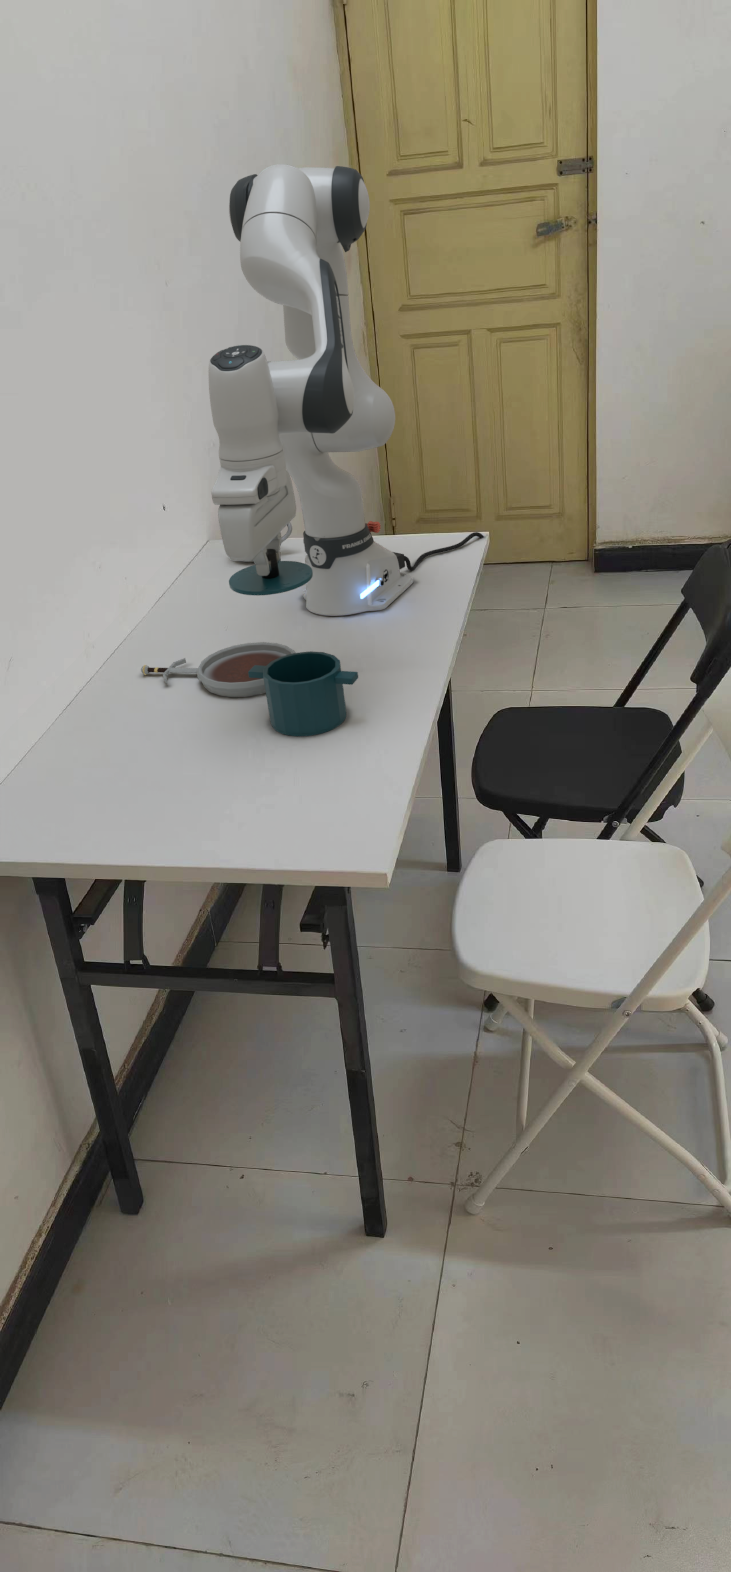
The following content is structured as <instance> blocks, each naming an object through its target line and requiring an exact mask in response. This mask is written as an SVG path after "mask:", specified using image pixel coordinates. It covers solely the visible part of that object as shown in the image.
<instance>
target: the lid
mask: <svg viewBox="0 0 731 1572" xmlns="http://www.w3.org/2000/svg"><path fill="white" fill-rule="evenodd" d="M266 556H267V559H268V560H270V561H271V568H272V571H271V572H270V573H269V574H268V575H267V576H259V575H258V574H257V571H256V565H255V564H252V565H249V566H246V567H244V568H242V569H239V570H237V571H235V572H234V573H233V574H232V575H231V576H230V578H229V580H228V585H229V589H231V590H232V591H233V592H235V593H237V594H240V595H245V596H270V595H277V594H283V593H287V592H290V591H293V590H296V589H298V588H301V587H302V586H304V585H306V583H308V582H309V581H310V580H311V579H312V577H313V571H312V568H311V567H310V566H309V565H307V564H305V562H301V561H300V562H299V561H296V560H295V561H294V560H281V561H280V562H279V563H278V561H277V555H276V550H274V549H267V552H266Z"/></svg>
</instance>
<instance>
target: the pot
mask: <svg viewBox="0 0 731 1572" xmlns="http://www.w3.org/2000/svg"><path fill="white" fill-rule="evenodd" d="M248 674H249V678H262V679H264V685H265V691H266V693H265V697H266V702H267V703H266V704H267V707H268V708H267V709H268V715H269V721H270V724H271V727H272V728H273V730H274V731H276V732H278V733H279V734H282V735H284V736H291V737H310V736H316V735H321V734H325V733H327V732H330V731H332V730H334V729H336V728H338V727H339V726H340V725H342V724H343V723H344V721H345V720H346V719H347V705H346V699H345V689H344V685H350V686H352V685H354V684H355V682H356V681H357V680H358V679H359V672H358V671H352V670H342V667H341V660H340V659H339V658H338V657H337V656H335V654H331V653H327V652H324V651H313V650H312V651H301V652H296V653H293V654H289V655H285V656H282V657H279V658H277V659H275V660H273V661H271V662H270V663H269V664H268V665H267V666H260V665H255V666H254V667H252V668H251V669H250V670H249V671H248Z"/></svg>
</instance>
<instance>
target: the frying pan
mask: <svg viewBox="0 0 731 1572" xmlns="http://www.w3.org/2000/svg"><path fill="white" fill-rule="evenodd" d="M293 653H297V652H296V651H295V650H294V649H293V648H291V647H290V646H288V645H285V644H282V643H278V642H267V641H259V642H246V643H240V644H235V645H231V646H227V647H225V648H222V649H219V650H217V651H215V652H213V653H211V654H209V655H207V657H205V658H204V659H203V660H201V661H200V663H199V665H198V667H179V666H181V665H184V664H186V663H187V659H186V657H183V658H181V659H179V660H176V661H174V662H172V663H171V664H170V665H169V666H168V667H150V666H148V665H147V664H144V665H142V667H141V668H140V672H141V674H143V675H145V676H147V675H149V674H150V673H156V674H159V673H161V674H162V678H163V680H164V683H165V684H168V678H167V677H168V676H169V675H170V674H196V675H197V679H198V680H199V681H200V682H201V683H202V685H203V687H204V689H206V690H207V691H208V692H209V693H211V694H214V695H217V696H220V697H228V698H242V697H243V698H245V697H253V696H258V695H263V694H266V691H265V685H264V679H262V678H249V674H248V671H249V670H250V669H251V668H252V667H254V666H255V665H260V666H267V665H268V664H269V663H270V662H271V661H273V660H275V659H277V658H279V657H282V656H285V655H289V654H293Z"/></svg>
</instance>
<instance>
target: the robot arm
mask: <svg viewBox="0 0 731 1572" xmlns="http://www.w3.org/2000/svg"><path fill="white" fill-rule="evenodd" d="M370 210H371V201H370V195H369V191H368V189H367V186H366V184H365V179H364V177H363V176H362V175H361V173H360V171H358V170H357V169H355V168H352V167H348V166H341V165H336V166H334V167H323V166H320V167H319V166H309V167H307V166H305V167H304V166H303V167H296V166H294V165H290V164H287V163H277V164H272V165H269V166H267V167H265V168H264V169H262V170H261V171H260V172H259V173H258V174H257V173H254V174H250V175H247V176H245V177H242V178H240V179H238V180H237V181H236V183H235V184H234V185H233V186H232V188H231V190H230V194H229V203H228V215H229V216H228V217H229V221H230V224H231V227H232V232H233V234H234V236H235V238H236V240H237V241H238V242H240V243H239V244H240V245H239V261H240V267H241V268H240V269H241V272H242V275H243V276H244V278H245V280H246V281H247V282H248V285H249V286H250V287H251V288H252V289H253V290H254V291H255V292H257V294H259V296H262V297H263V298H265V299H266V300H268V301H269V302H272V303H274V304H277V305H281V306H282V312H283V326H284V328H283V329H284V339H285V340H284V341H285V345H286V347H287V349H288V352H289V353H290V354H291V355H292V356H293V357H295V359H290V360H289V359H288V360H287V359H286V360H276V361H275V360H274V361H272V360H267V357H266V354H265V352H264V350H263V349H262V348H260V347H258V346H255V345H251V344H240V345H239V344H237V345H233V346H229V347H226V348H224V349H221V350H219V351H218V352H216V353H215V354H213V355H212V357H211V358H210V359H209V361H208V393H209V394H208V395H209V404H210V409H211V418H212V422H213V426H214V428H215V431H216V434H217V436H218V441H219V444H218V445H219V446H218V458H219V465H220V467H219V469H218V474H217V477H216V480H215V483H214V484H213V486H212V488H211V491H210V492H211V499H212V504H213V505H216V506H218V510H217V518H218V524H219V530H220V531H219V532H220V535H221V540H222V545H223V549H224V552H225V555H226V556H227V557H228V559H229V560H230V562H244V561H252V560H253V563H254V565H256V571H257V574H258V575H259V576H267V575H268V574H269V573H270V572H271V571H272V568H271V561H270V560H268V559H267V556H266V552H267V549H274V550H276V555H277V561H278V563H279V562H280V561H282V558H281V546H282V543H281V537H282V531H283V530H284V528H285V527H287V524H288V523H289V522H290V523H291V522H292V521H293V520H294V518H295V517H296V516H297V515H296V514H297V502H296V497H295V491H294V486H293V484H294V485H295V489H296V492H297V495H298V498H299V503H300V508H301V513H302V519H303V526H304V531H303V533H302V537H303V539H302V543H303V546H304V552H305V554H306V555H305V557H304V564H307V565H309V566H310V567H311V568H312V571H313V577H312V579H311V580H310V581H309V582H308V583H306V584H305V590H303V592H302V597H303V599H304V600H305V601H306V602H305V608H306V610H308V611H309V612H310V613H313V614H316V615H320V616H329V617H330V616H331V617H338V616H349V615H357V614H359V613H364V612H375V611H383V610H385V609H387V608H388V607H389V606H390V604H392V603H393V602H394V601H395V600H396V599H397V598H399V596H401V594H403V593H404V592H405V591H406V590H407V589H408V588H409V587H411V585H413V583H414V578H413V577H412V576H411V575H410V574H407V573H404V572H401V570H402V569H404V568H406V569H407V570H408V571H410V572H412V571H415V569H416V568H417V567H418V566H420V563H421V562H422V561H423V560H424V559H425V558H427V557H430V556H433V555H436V554H441V553H445V552H449V551H454V550H457V549H459V548H461V547H463V546H464V545H466V544H467V543H468V542H469V541H471V540H472V539H473V538H475V537H478V538H479V539H483V538H484V537H485V536H484V535H483V534H482V533H480V532H479V531H474V532H471V533H470V534H468V535H467V536H466V537H465V538H464V539H463V540H461V541H460V542H458V543H455V544H452V545H449V546H445V547H441V548H437V549H432V550H429V551H425V552H424V553H422V554H421V555H419V557H418V558H417V559H416V560H415V562H414V564H413V565H412V564H411V561H410V560H411V559H410V558H409V557H408V556H406V555H405V554H404V553H400V552H396V551H391V550H390V549H388V548H387V547H384V546H383V545H381V544H379V543H378V542H376V541H374V536H373V535H372V533H376V534H378V533H380V531H381V528H382V526H381V525H382V524H381V523H380V522H379V521H372V520H369V521H368V522H367V523H366V517H365V508H364V507H365V506H364V499H363V489H362V486H361V484H360V482H359V481H358V479H357V478H356V477H355V476H354V475H353V474H352V473H350V472H348V471H346V470H344V469H343V468H340V466H338V465H337V464H336V463H335V462H334V460H333V459H332V458H331V456H330V454H329V453H358V452H359V453H360V452H364V451H368V450H372V449H373V450H374V449H376V448H380V447H383V446H385V445H386V444H387V443H388V441H389V440H390V438H391V437H392V434H393V432H394V429H395V425H396V410H395V406H394V404H393V401H392V399H391V397H390V395H388V393H387V392H386V391H385V390H384V389H383V388H382V387H380V386H379V385H378V384H377V383H376V382H374V381H373V380H372V379H371V377H370V376H369V375H368V374H367V372H366V371H365V369H364V368H363V366H362V365H361V362H360V360H359V359H358V356H357V354H356V350H355V345H354V342H353V336H352V335H353V333H352V326H351V314H350V313H351V312H350V300H349V299H350V297H349V296H350V295H349V282H348V273H347V265H346V259H345V255H344V253H347V252H349V251H350V250H351V247H352V245H353V244H354V243H356V242H357V241H359V239H360V238H361V236H362V235H363V234H364V232H365V230H366V229H367V225H368V220H369V216H370ZM292 481H293V483H292ZM280 545H281V546H280ZM266 548H267V549H266Z"/></svg>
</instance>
